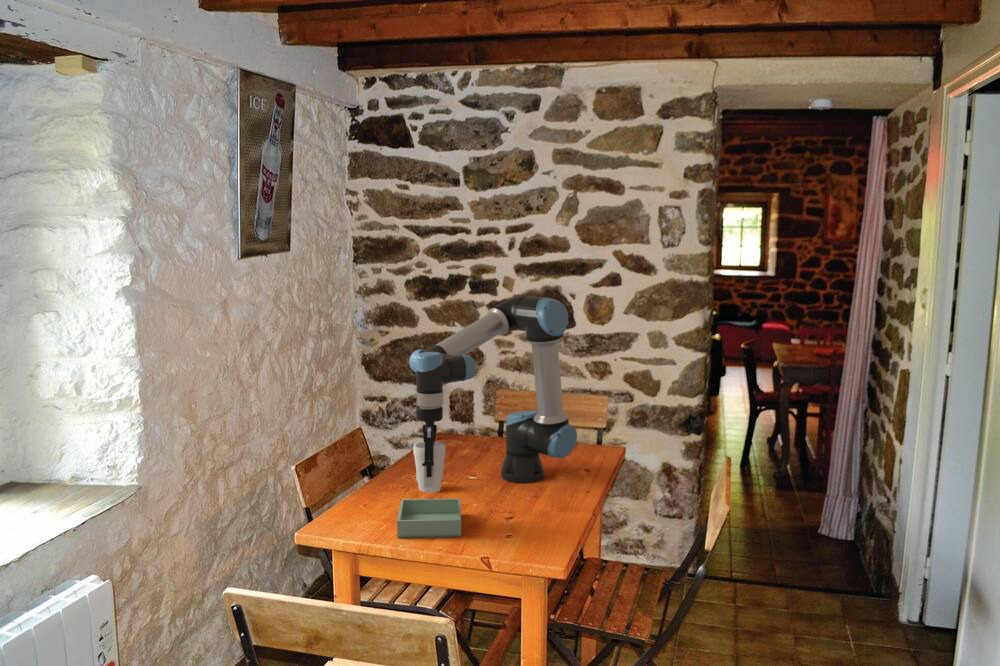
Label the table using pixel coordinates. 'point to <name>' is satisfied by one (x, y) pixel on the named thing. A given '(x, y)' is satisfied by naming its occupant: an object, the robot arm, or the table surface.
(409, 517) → the bin
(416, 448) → the foam cup
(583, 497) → the table surface
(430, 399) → the robot arm
